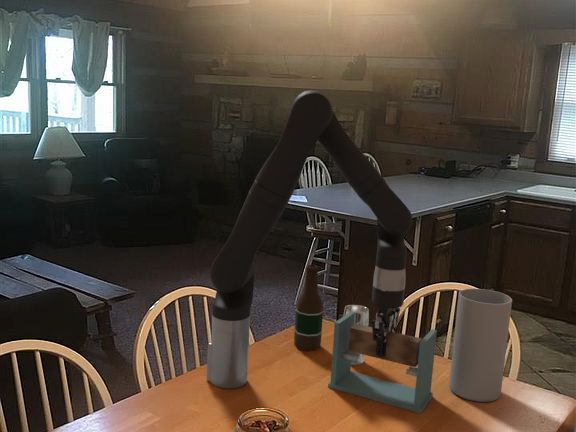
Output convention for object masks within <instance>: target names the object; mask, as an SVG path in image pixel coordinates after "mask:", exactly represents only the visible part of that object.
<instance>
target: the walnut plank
mask: <svg viewBox="0 0 576 432" xmlns="http://www.w3.org/2000/svg"><path fill="white" fill-rule="evenodd" d="M379 336H380V335H379ZM422 339H423V338H421V337H418V336H417V337H416V336H412V335H408V334H404V333H399V332H396V331H395V332H389V333H388V335H387V341H386V353H385V356H384V357H380V356H377V355H376V345H377V341H374V340H373V331H372V326H369V325H368V326H364V325H359V324H354V325H353V326H352V327H350V335H349V349H348V351H351V352H355V353H359V354H363V356H367V357H368V356H369V357H372V358H376V359H380V360H385V361H389V362H391V363H396V364H399V365H400V364H401V365H405V366H407V367H409V366H411V367H415V368H417V367H418V357H419V347H420V341H421V340H422Z"/></svg>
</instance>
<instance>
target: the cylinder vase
mask: <svg viewBox="0 0 576 432" xmlns="http://www.w3.org/2000/svg"><path fill="white" fill-rule="evenodd" d="M457 298H458V299H457V305H456V316H455V324H454V326H455V327H454V334H453V345H452V354H451V363H450V364H451V365H450V372H449V383H448V385H449V389H450V390H451V392H453V394H455V395H456V396H458V397H460V398H462V399H464V400H468V401H472V402H478V403H489V402H494V401H496V400H498V399H499V398H500V397H501V394H502V387H503V385H502V384H503V381H504V380H503V379H504V373H505V372H504V369H505V362H506V355H507V347H508V338H509V337H508V336H509V330H510V322H511V313H512V305H513V298H511V297H510V296H509V295H507V294H505V293H502V292H500V291H495V290H491V289H486V288H483V289H482V288H464V289H461V290H459V291H458V297H457Z"/></svg>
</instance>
